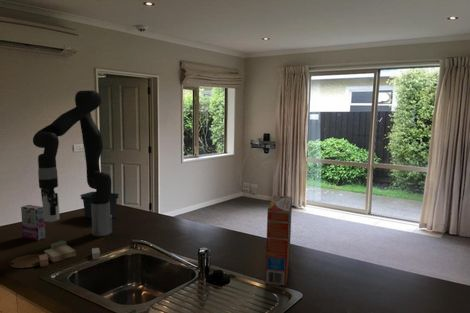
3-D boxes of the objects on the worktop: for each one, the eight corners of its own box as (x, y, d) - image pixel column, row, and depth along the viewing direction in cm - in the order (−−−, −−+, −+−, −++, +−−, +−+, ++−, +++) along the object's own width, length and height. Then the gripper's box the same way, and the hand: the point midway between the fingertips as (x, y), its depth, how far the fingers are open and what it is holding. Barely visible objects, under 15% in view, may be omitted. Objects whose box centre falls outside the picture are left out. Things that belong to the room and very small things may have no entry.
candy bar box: (46, 237, 186) (44, 206, 184) (38, 241, 181) (36, 209, 179) (31, 234, 190) (29, 204, 188) (22, 237, 185) (20, 206, 183)
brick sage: (62, 246, 176) (62, 240, 175) (66, 247, 174) (66, 241, 174) (51, 250, 170) (50, 244, 170) (55, 251, 169) (54, 245, 169)
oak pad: (66, 249, 171) (66, 244, 171) (76, 255, 164) (75, 250, 164) (44, 255, 164) (44, 250, 163) (53, 262, 157) (52, 257, 157)
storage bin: (78, 218, 218) (77, 195, 216) (96, 211, 233) (95, 189, 231) (107, 222, 211) (106, 198, 209) (123, 215, 226) (123, 193, 224)
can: (52, 223, 160) (51, 196, 158) (40, 221, 161) (38, 195, 160) (62, 218, 166) (61, 193, 164) (50, 217, 168) (49, 192, 166)
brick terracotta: (39, 261, 158) (39, 255, 158) (47, 260, 160) (46, 253, 159) (40, 267, 153) (40, 260, 153) (48, 265, 155) (48, 258, 154)
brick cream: (92, 259, 161) (100, 258, 162) (92, 253, 161) (99, 252, 162) (92, 254, 166) (98, 253, 168) (91, 248, 166) (98, 247, 167)
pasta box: (285, 286, 140) (288, 211, 136) (265, 283, 142) (267, 209, 138) (289, 261, 163) (292, 196, 158) (271, 260, 164) (273, 195, 160)
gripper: (63, 178, 158) (65, 215, 161) (51, 173, 168) (53, 208, 171) (44, 180, 153) (47, 218, 155) (33, 175, 163) (35, 211, 165)
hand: (50, 213), depth 163 cm, fingers closed on can, 6 cm apart
